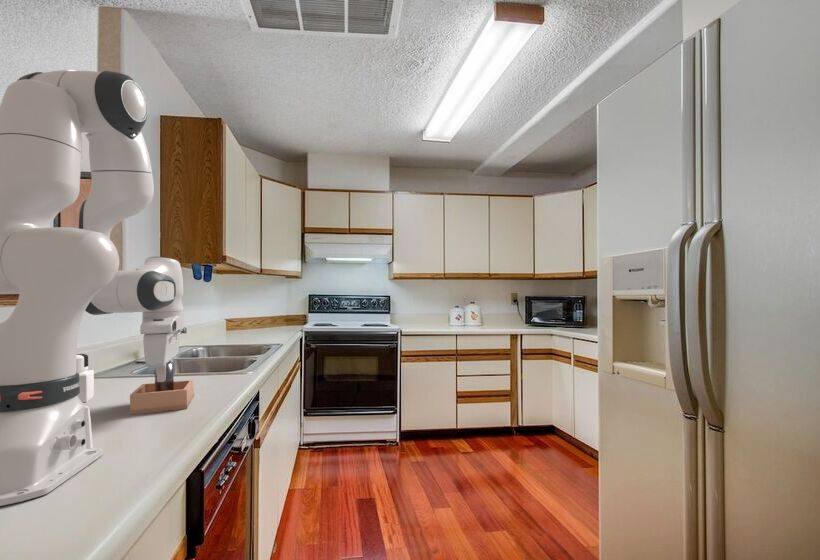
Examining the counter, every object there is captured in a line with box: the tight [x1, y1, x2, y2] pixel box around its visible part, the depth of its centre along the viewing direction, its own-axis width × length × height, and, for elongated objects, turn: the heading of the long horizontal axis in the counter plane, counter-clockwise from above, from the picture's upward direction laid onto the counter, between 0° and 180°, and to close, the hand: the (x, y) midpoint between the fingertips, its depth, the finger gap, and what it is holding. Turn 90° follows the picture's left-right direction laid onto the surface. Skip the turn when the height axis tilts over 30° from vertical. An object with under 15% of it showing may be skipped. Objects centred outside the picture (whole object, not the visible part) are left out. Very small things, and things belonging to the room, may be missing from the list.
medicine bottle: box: [76, 353, 95, 404], centre depth 108 cm, size 7×7×12 cm
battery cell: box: [154, 361, 175, 392], centre depth 103 cm, size 4×4×8 cm
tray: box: [129, 379, 195, 415], centre depth 103 cm, size 12×12×4 cm
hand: (164, 379), depth 103 cm, fingers closed on battery cell, 4 cm apart
